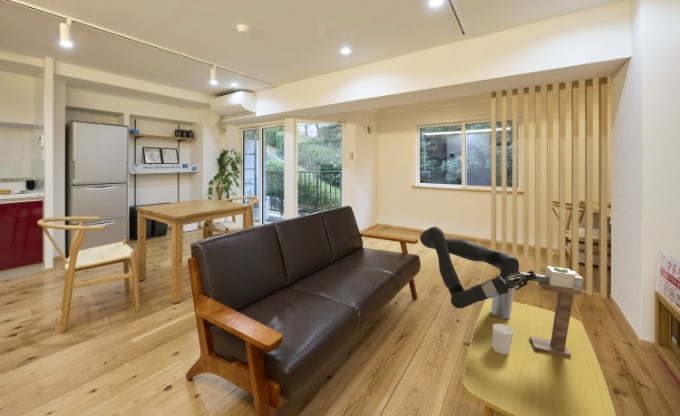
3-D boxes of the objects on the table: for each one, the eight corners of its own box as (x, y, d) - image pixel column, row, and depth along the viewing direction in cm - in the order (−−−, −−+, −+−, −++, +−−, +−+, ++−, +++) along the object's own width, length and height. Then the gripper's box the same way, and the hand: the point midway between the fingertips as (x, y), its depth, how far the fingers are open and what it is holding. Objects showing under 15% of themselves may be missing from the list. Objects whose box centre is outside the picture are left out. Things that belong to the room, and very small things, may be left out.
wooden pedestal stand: (529, 338, 139) (539, 266, 133) (562, 345, 135) (574, 270, 129) (534, 350, 130) (545, 274, 124) (570, 357, 126) (583, 278, 120)
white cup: (490, 351, 129) (492, 330, 127) (490, 342, 136) (493, 321, 134) (511, 357, 125) (514, 335, 124) (510, 347, 132) (513, 326, 131)
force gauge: (517, 275, 135) (519, 261, 134) (566, 282, 129) (569, 267, 128) (521, 281, 129) (523, 266, 128) (573, 288, 123) (575, 273, 122)
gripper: (492, 286, 130) (535, 272, 123) (488, 274, 143) (526, 261, 136) (500, 301, 129) (543, 288, 123) (496, 288, 142) (534, 275, 136)
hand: (534, 274), depth 130 cm, fingers closed on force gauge, 2 cm apart
